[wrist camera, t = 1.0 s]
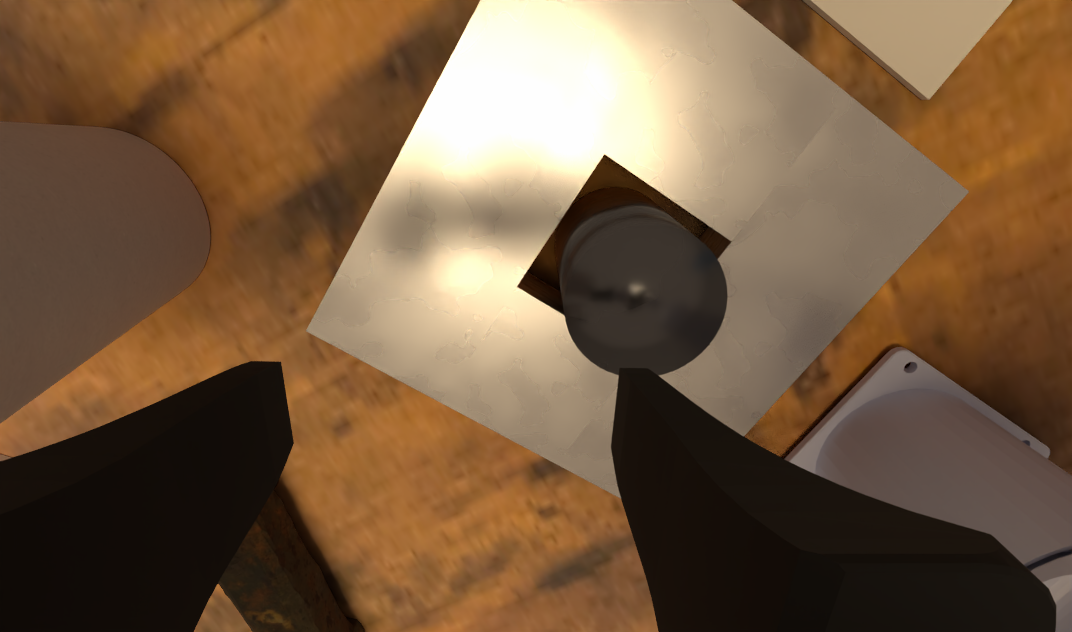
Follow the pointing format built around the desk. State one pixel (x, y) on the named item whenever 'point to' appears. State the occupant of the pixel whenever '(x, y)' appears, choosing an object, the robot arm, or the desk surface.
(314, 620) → the hand tool
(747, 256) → the housing block
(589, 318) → the dark metal cylinder
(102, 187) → the coffee cup
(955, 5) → the rubber pad
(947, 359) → the desk surface
